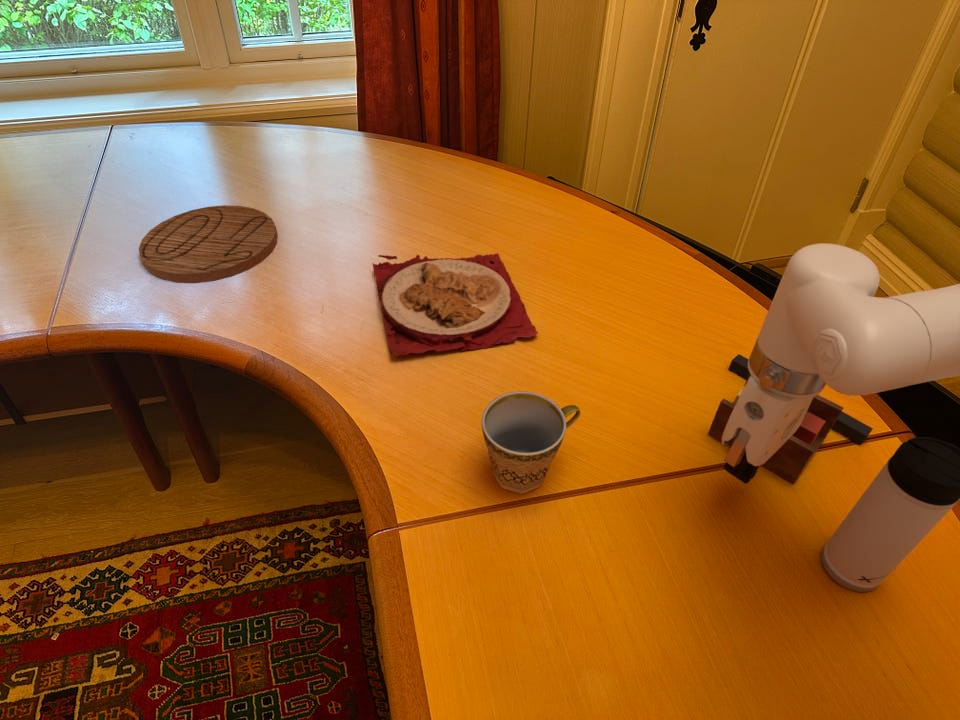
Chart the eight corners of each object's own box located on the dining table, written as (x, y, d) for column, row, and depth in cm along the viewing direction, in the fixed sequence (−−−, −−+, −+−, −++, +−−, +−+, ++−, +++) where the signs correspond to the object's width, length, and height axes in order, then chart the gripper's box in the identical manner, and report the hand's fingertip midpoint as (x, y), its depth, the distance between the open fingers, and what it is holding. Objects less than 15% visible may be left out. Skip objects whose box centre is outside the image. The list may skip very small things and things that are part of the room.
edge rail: (866, 438, 83) (873, 428, 81) (860, 445, 82) (866, 436, 80) (735, 363, 93) (738, 353, 92) (728, 369, 92) (731, 359, 91)
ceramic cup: (502, 517, 73) (505, 466, 66) (468, 457, 80) (467, 405, 73) (593, 479, 77) (604, 428, 70) (553, 426, 84) (560, 374, 77)
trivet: (298, 219, 125) (296, 211, 124) (240, 290, 107) (238, 281, 106) (187, 208, 128) (184, 200, 127) (113, 274, 110) (109, 265, 109)
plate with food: (391, 364, 93) (389, 348, 91) (373, 269, 111) (371, 253, 109) (538, 342, 98) (540, 326, 95) (498, 254, 116) (499, 238, 113)
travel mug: (868, 607, 65) (972, 500, 52) (809, 564, 69) (892, 453, 55) (893, 571, 68) (996, 461, 55) (835, 532, 72) (919, 419, 58)
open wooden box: (824, 440, 82) (844, 407, 78) (793, 484, 77) (813, 451, 72) (740, 396, 88) (755, 363, 84) (707, 434, 83) (720, 401, 78)
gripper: (788, 419, 56) (732, 529, 68) (860, 348, 63) (797, 459, 75) (716, 376, 60) (676, 487, 72) (792, 315, 67) (743, 425, 79)
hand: (738, 473), depth 74 cm, fingers closed
